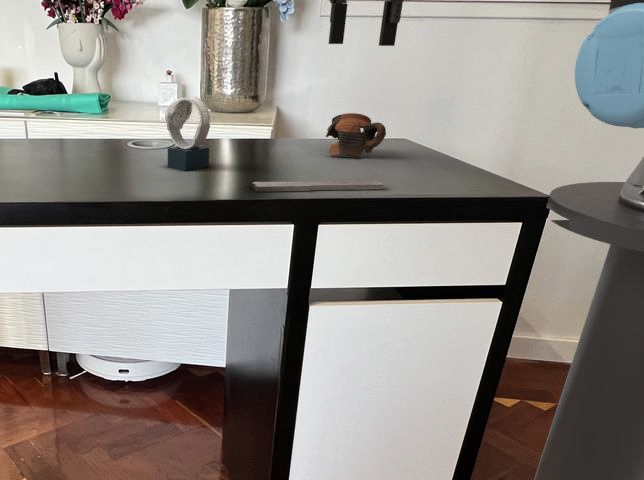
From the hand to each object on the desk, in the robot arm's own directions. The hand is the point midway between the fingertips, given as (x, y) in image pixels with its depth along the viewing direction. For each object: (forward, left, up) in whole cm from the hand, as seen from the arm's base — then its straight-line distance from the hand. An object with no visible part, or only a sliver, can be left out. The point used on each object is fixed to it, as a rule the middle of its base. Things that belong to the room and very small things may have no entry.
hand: (359, 45), depth 111 cm
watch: (+7, +32, -19) cm, 38 cm away
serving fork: (-17, +26, -19) cm, 36 cm away
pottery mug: (-1, -1, -19) cm, 19 cm away
